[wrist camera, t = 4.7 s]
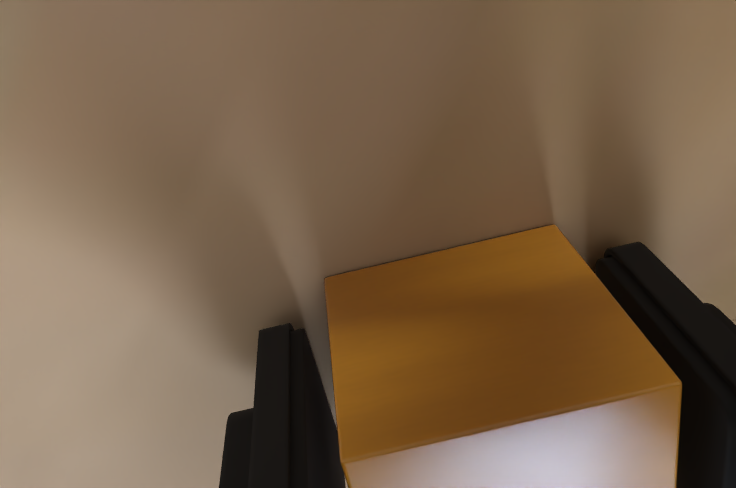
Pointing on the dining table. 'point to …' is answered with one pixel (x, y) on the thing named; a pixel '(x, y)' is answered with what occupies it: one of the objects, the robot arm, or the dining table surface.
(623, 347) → the block
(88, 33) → the dining table surface
